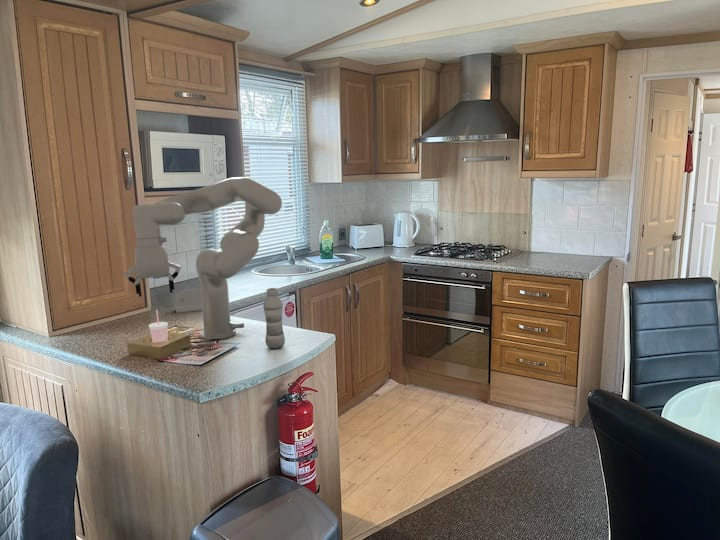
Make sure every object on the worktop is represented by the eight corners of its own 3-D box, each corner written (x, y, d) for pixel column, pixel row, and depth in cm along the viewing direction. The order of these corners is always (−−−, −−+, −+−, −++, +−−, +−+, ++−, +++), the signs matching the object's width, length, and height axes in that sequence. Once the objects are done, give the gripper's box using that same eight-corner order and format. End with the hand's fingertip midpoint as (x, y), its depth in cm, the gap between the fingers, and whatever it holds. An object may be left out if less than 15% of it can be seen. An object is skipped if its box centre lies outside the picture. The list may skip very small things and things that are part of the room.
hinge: (175, 312, 226) (173, 289, 227) (175, 313, 230) (173, 291, 232) (215, 308, 231) (213, 285, 233) (215, 309, 236) (212, 287, 237)
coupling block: (159, 341, 187) (158, 330, 186) (190, 345, 182) (189, 334, 181) (128, 354, 175) (127, 342, 174) (161, 359, 169) (159, 347, 168)
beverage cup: (154, 354, 174) (149, 313, 171) (149, 349, 179) (144, 309, 176) (172, 350, 178) (168, 310, 175) (167, 345, 182) (163, 306, 180)
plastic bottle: (267, 351, 173) (263, 292, 170) (264, 345, 180) (261, 288, 176) (286, 349, 175) (283, 290, 171) (283, 343, 182) (280, 286, 178)
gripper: (176, 238, 178) (182, 288, 181) (121, 243, 172) (128, 294, 175) (178, 241, 171) (184, 292, 175) (120, 246, 165) (127, 300, 168)
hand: (156, 293), depth 175 cm, fingers open, 9 cm apart
